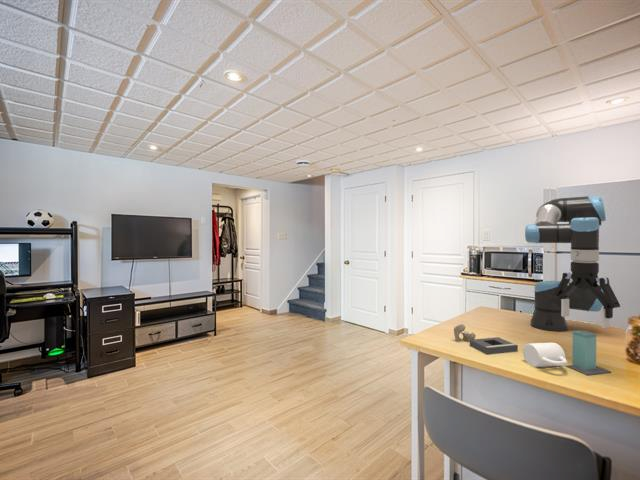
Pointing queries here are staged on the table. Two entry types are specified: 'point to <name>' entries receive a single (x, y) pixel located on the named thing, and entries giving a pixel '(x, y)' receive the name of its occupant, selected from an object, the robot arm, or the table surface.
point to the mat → (589, 372)
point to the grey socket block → (493, 345)
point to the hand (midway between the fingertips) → (584, 321)
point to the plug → (584, 349)
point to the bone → (463, 333)
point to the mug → (544, 354)
